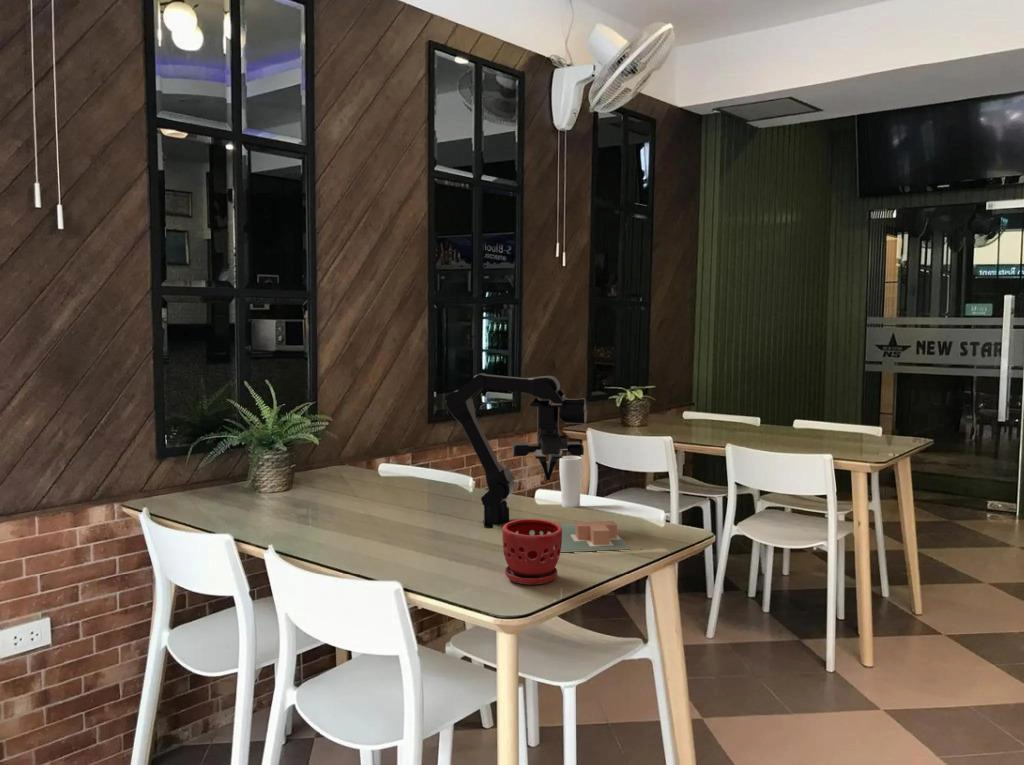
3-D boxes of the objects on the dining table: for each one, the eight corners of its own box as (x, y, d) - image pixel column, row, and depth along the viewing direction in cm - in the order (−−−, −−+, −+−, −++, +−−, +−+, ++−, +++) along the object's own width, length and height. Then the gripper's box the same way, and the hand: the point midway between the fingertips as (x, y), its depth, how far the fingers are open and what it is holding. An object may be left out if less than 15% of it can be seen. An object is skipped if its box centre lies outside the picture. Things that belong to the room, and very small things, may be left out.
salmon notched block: (581, 545, 210) (581, 531, 209) (575, 535, 219) (575, 522, 218) (621, 543, 211) (621, 530, 210) (613, 534, 220) (613, 520, 219)
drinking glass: (580, 510, 248) (580, 460, 246) (557, 509, 249) (557, 459, 248) (583, 505, 254) (583, 455, 253) (561, 504, 256) (561, 455, 254)
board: (537, 554, 205) (537, 551, 205) (524, 528, 229) (524, 525, 229) (630, 550, 208) (630, 547, 207) (608, 525, 231) (608, 522, 231)
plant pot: (493, 585, 184) (493, 530, 182) (515, 567, 196) (514, 516, 195) (551, 591, 179) (551, 536, 178) (569, 573, 191) (569, 521, 190)
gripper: (515, 428, 219) (515, 487, 220) (587, 427, 220) (586, 486, 222) (512, 421, 230) (512, 478, 231) (580, 421, 231) (580, 477, 233)
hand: (547, 480), depth 229 cm, fingers closed
